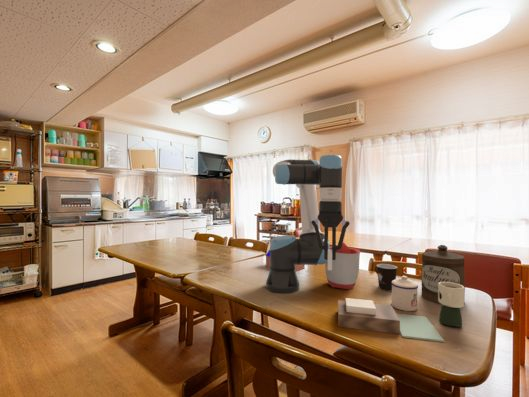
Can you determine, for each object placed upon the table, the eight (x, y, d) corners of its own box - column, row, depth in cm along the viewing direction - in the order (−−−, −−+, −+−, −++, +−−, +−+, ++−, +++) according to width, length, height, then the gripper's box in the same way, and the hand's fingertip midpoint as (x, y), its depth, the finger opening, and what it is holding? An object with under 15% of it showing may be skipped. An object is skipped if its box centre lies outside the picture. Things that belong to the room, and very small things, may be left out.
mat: (402, 337, 81) (402, 335, 81) (391, 314, 97) (391, 313, 97) (444, 342, 79) (444, 340, 79) (425, 318, 94) (425, 316, 94)
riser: (338, 326, 88) (338, 314, 88) (337, 311, 99) (338, 300, 99) (399, 333, 83) (399, 320, 83) (391, 316, 95) (391, 305, 95)
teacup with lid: (417, 314, 98) (417, 281, 97) (389, 308, 102) (389, 277, 102) (419, 302, 108) (419, 273, 108) (393, 298, 113) (394, 269, 112)
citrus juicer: (356, 280, 136) (358, 240, 135) (360, 293, 119) (363, 247, 118) (324, 276, 139) (326, 237, 138) (323, 288, 122) (325, 244, 121)
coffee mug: (399, 292, 120) (399, 269, 120) (378, 290, 121) (378, 268, 121) (392, 283, 131) (392, 262, 131) (373, 282, 133) (373, 261, 133)
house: (293, 273, 147) (293, 252, 147) (265, 267, 161) (265, 247, 161) (305, 269, 156) (305, 249, 156) (278, 263, 170) (278, 244, 170)
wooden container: (416, 298, 113) (417, 245, 112) (427, 289, 123) (427, 240, 123) (460, 309, 102) (461, 250, 102) (467, 298, 113) (468, 245, 112)
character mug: (439, 315, 96) (440, 278, 96) (464, 321, 92) (465, 283, 92) (435, 327, 88) (435, 286, 88) (462, 334, 83) (463, 291, 83)
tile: (346, 311, 90) (346, 305, 90) (345, 303, 96) (345, 298, 96) (375, 314, 87) (375, 308, 87) (372, 306, 94) (372, 300, 94)
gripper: (310, 200, 92) (309, 270, 92) (351, 200, 89) (350, 273, 89) (311, 200, 99) (311, 265, 99) (349, 200, 96) (349, 267, 96)
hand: (329, 269), depth 94 cm, fingers closed
